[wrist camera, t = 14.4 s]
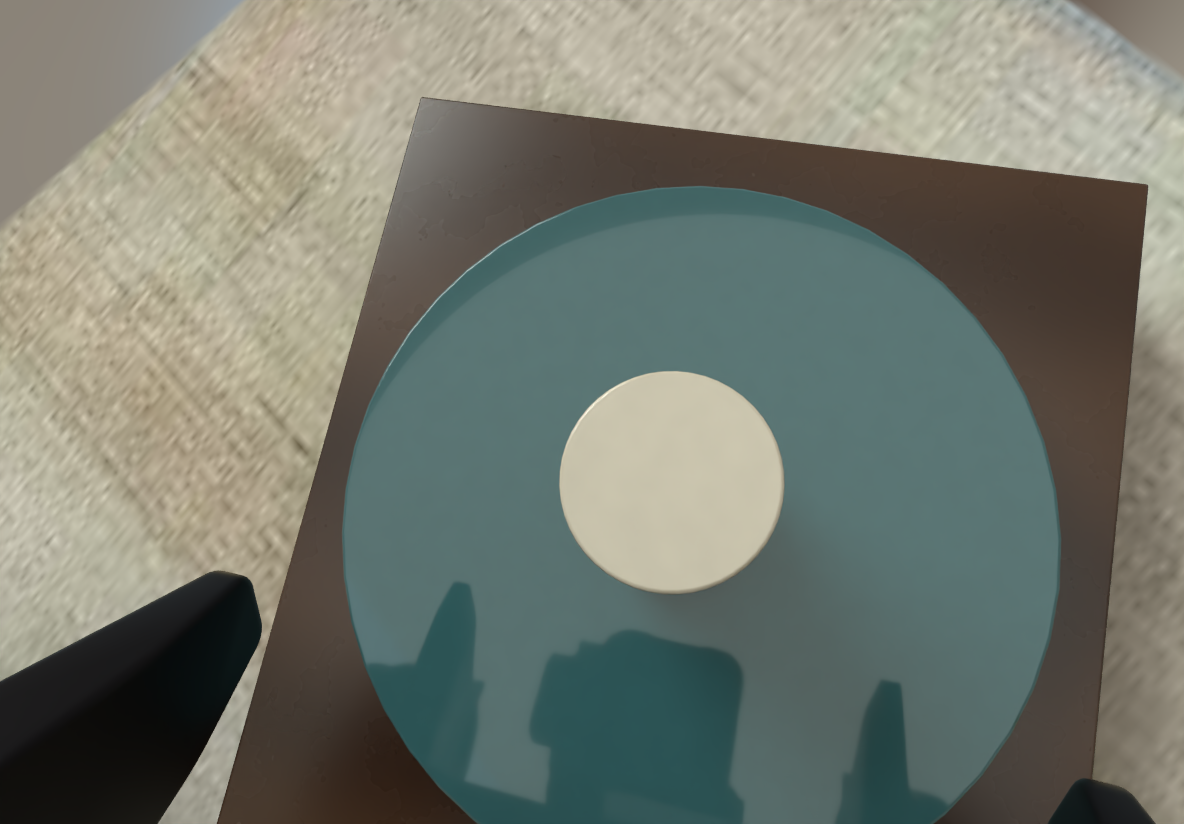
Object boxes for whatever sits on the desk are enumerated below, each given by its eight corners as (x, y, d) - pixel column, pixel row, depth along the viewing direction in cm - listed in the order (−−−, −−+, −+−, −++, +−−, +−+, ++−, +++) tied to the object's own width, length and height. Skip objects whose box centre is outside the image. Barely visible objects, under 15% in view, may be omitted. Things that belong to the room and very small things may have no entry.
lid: (987, 973, 12) (1183, 1236, 7) (294, 775, 14) (72, 875, 9) (1067, 263, 14) (1261, 86, 9) (453, 178, 16) (343, -4, 11)
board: (990, 1019, 15) (1061, 1124, 12) (290, 812, 17) (205, 857, 14) (1076, 251, 17) (1149, 183, 15) (461, 168, 20) (420, 95, 17)
